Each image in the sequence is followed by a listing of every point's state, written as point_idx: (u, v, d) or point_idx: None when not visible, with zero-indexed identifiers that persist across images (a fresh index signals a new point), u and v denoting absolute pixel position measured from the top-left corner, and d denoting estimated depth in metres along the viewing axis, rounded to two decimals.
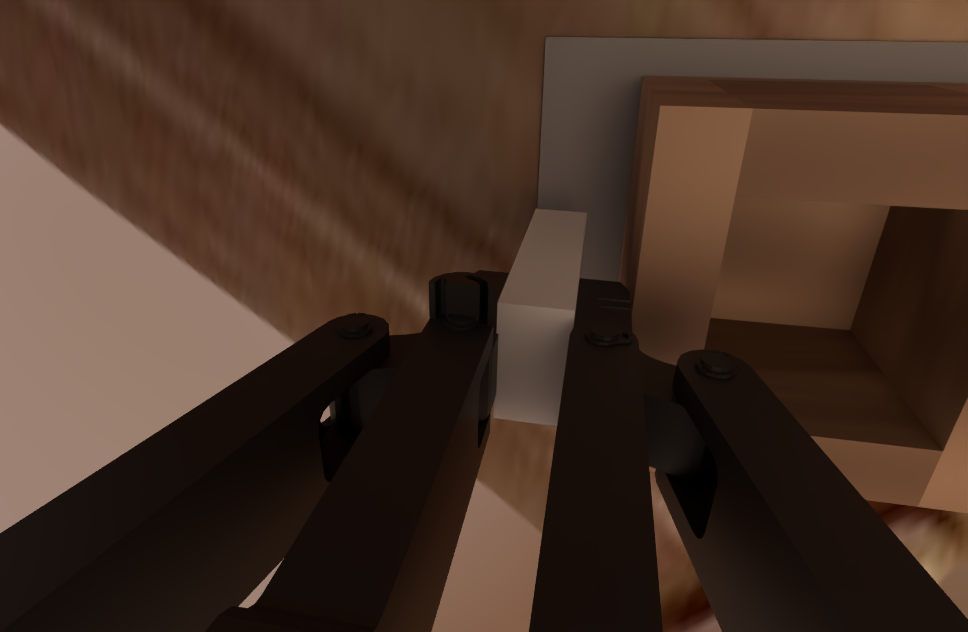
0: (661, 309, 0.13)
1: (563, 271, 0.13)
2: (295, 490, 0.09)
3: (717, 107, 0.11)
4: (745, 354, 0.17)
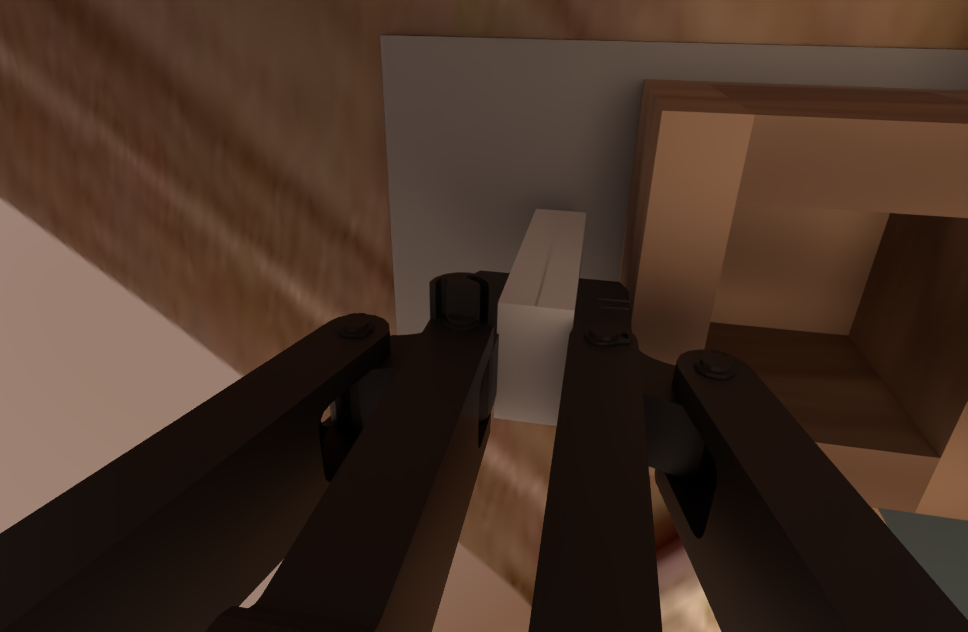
0: (661, 314, 0.13)
1: (562, 271, 0.13)
2: (295, 490, 0.09)
3: (719, 113, 0.11)
4: (744, 358, 0.17)
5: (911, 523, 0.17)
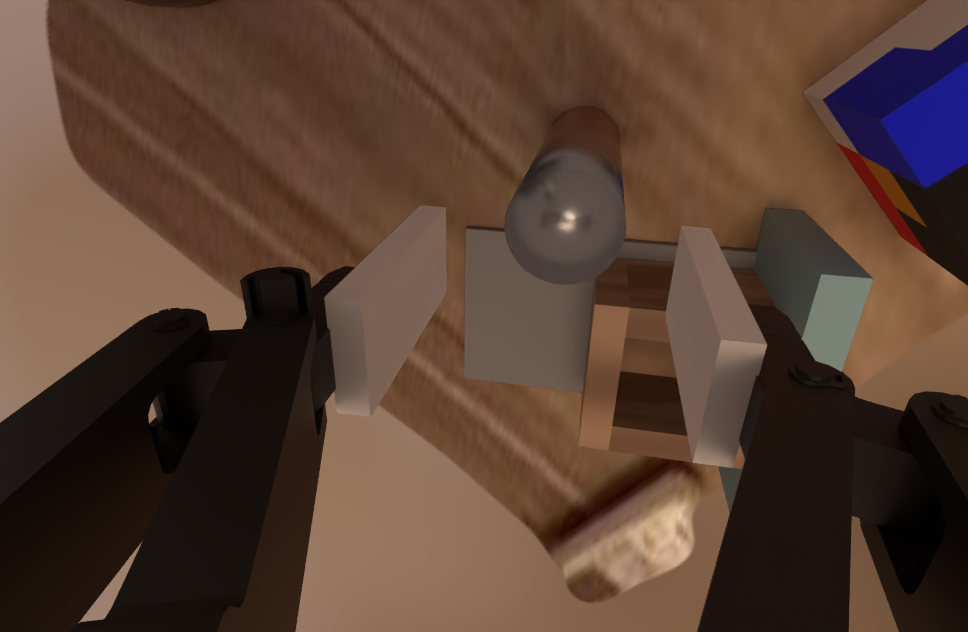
0: (598, 378, 0.31)
1: (727, 297, 0.12)
2: (133, 485, 0.09)
3: (616, 306, 0.29)
4: (645, 393, 0.36)
5: (726, 474, 0.35)
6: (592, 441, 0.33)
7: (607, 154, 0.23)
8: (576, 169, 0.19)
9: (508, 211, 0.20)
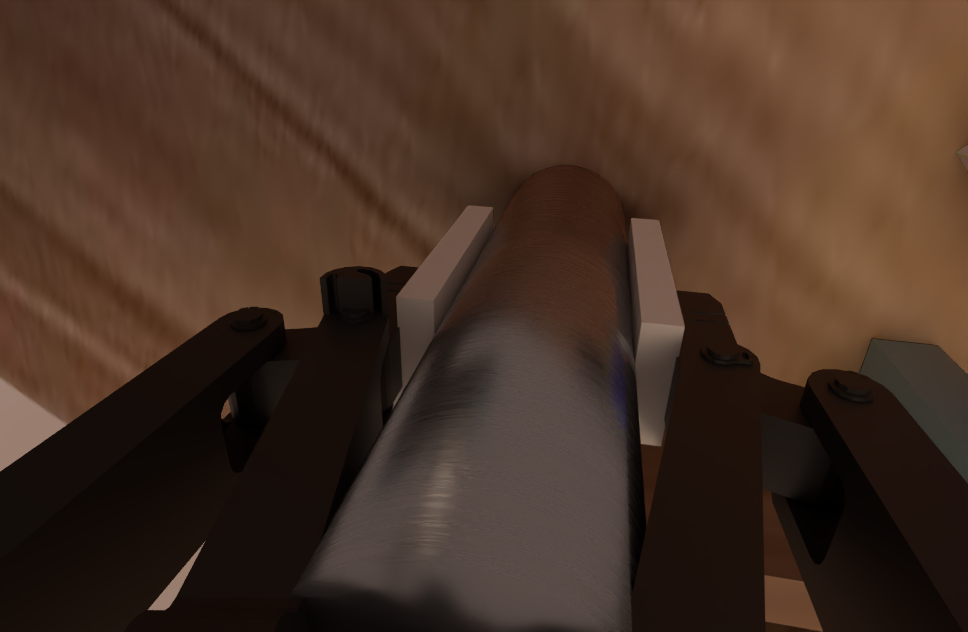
0: None
1: (657, 283, 0.12)
2: (202, 482, 0.09)
3: None
4: None
5: None
6: None
7: (601, 347, 0.09)
8: (480, 564, 0.05)
9: None
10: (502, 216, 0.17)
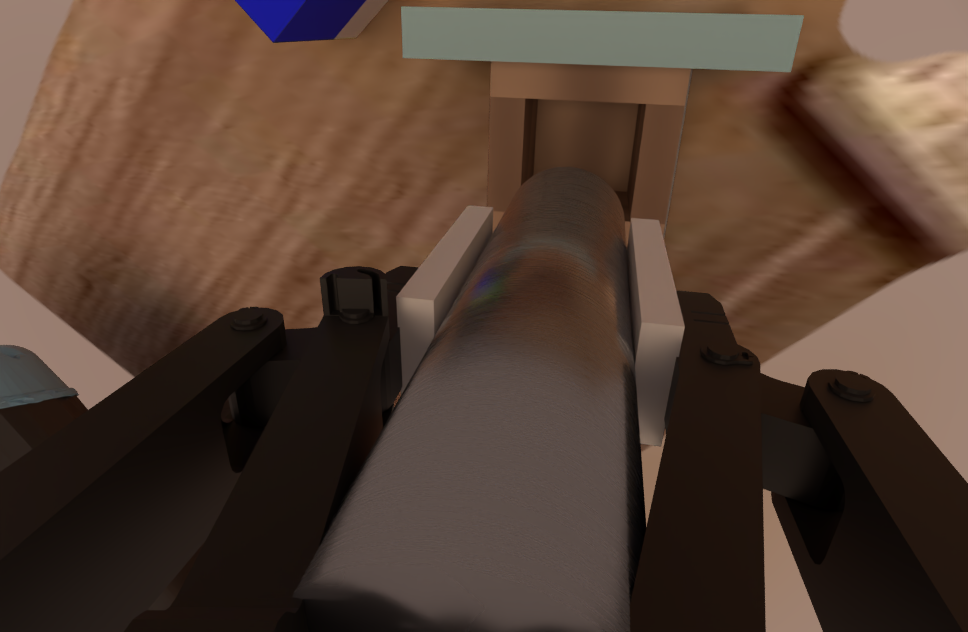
0: None
1: (657, 283, 0.12)
2: (202, 482, 0.09)
3: None
4: (633, 165, 0.32)
5: None
6: None
7: (601, 349, 0.09)
8: (480, 568, 0.05)
9: None
10: (502, 217, 0.17)
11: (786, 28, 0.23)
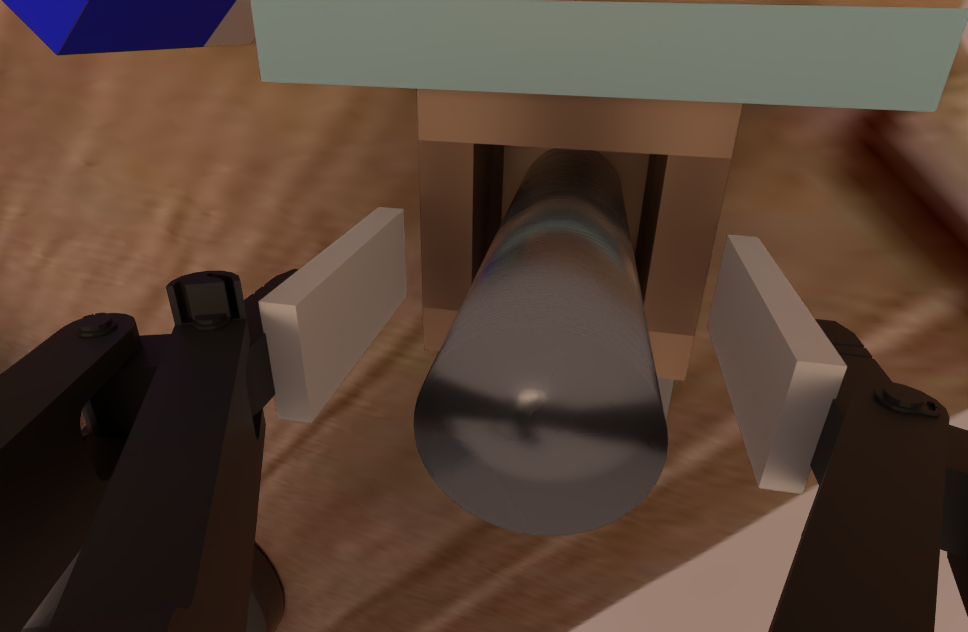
0: None
1: (792, 313, 0.11)
2: (68, 493, 0.09)
3: (423, 323, 0.21)
4: (643, 234, 0.21)
5: None
6: (673, 359, 0.19)
7: (616, 252, 0.13)
8: (561, 329, 0.08)
9: (419, 402, 0.09)
10: (521, 183, 0.21)
11: (935, 33, 0.12)
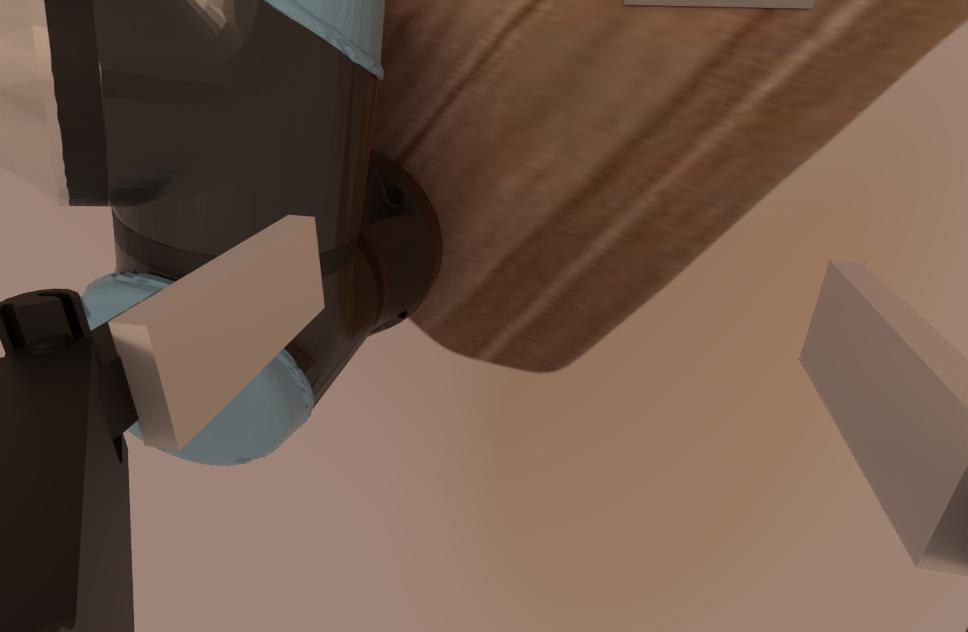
0: None
1: (948, 361, 0.10)
2: None
3: None
4: None
5: None
6: None
7: None
8: None
9: None
10: None
11: None
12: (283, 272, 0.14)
